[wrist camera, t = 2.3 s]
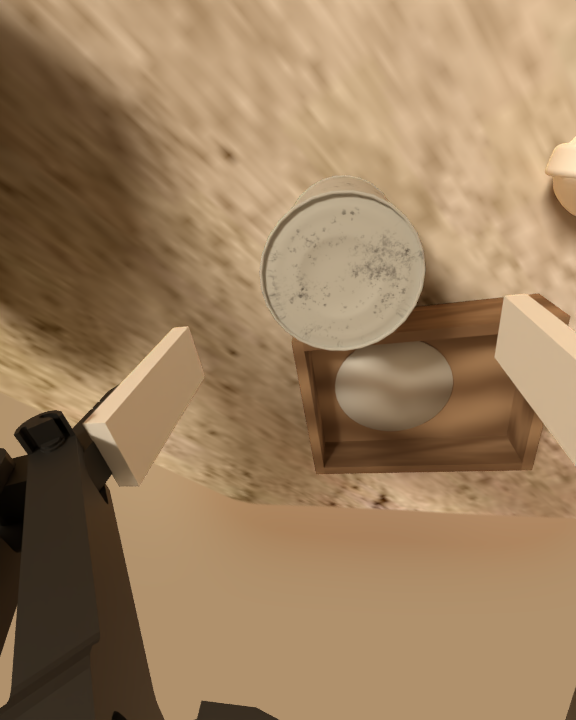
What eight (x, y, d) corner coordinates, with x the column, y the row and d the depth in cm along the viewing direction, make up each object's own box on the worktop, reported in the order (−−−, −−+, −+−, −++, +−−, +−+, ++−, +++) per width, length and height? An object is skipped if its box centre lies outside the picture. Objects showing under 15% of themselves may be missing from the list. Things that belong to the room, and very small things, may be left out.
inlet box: (297, 319, 35) (291, 342, 31) (538, 293, 31) (570, 316, 27) (318, 442, 44) (316, 473, 40) (511, 435, 39) (531, 470, 35)
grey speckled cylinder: (368, 300, 34) (382, 369, 23) (274, 269, 33) (244, 325, 23) (415, 196, 28) (460, 224, 18) (304, 158, 28) (284, 163, 18)
